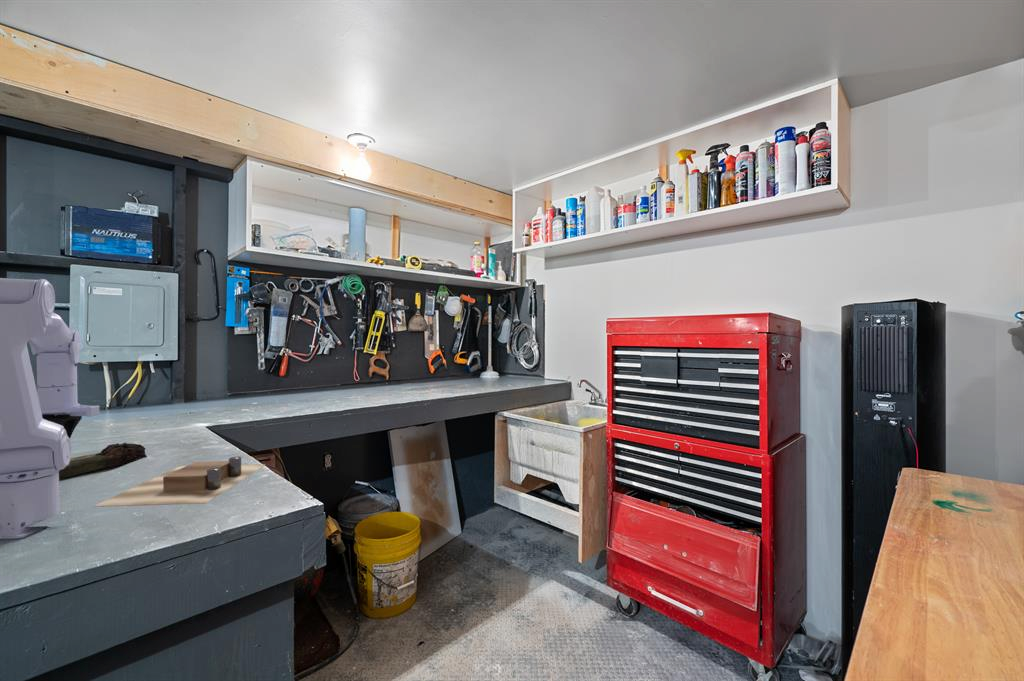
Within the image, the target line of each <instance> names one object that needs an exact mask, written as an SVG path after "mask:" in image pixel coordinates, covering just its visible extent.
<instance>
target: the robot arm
mask: <svg viewBox="0 0 1024 681" xmlns="http://www.w3.org/2000/svg"><path fill="white" fill-rule="evenodd" d="M55 306H56V294H55V289H54V286H53V285H52V283H50V282H49V281H48V280H47V279H45V278H39V279H28V278H27V279H26V278H4V277H0V540H9V539H13V540H14V539H23V538H26V537H29V536H31V535H32V534H34V533H37V532H39V531H41V530H43V529H45V528H48V527H49V526H48V525H45V526H44V525H43V526H42V525H40V526H30V525H33V524H35V523H38V522H40V521H44V520H47V519H49V518H52V517H54V516H56V515H58V514H59V513H60V511H61V509H60V479H59V471H60V470H61V469H64V468H65V467H66V466H67V465H68V464H69V462H70V458H72V442H71V437H72V434H73V432H74V431H75V429H76V427H77V426H78V424H79V423H80V421H81V420H82V418H83V417H95V416H99V415H100V405H90V404H89V405H88V404H87V405H86V404H80V403H78V402H79V401H78V398H79V397H78V363H80V352H81V347H82V337H81V333H80V332H79V330H74V328H71V327H70V328H69V326H68V325H67V324H66V322H64V319H63V318H62V317H61V316H60V315H58V314H57V313H55V312H54V310H55ZM28 343H29V344H28ZM28 345H29V346H30V350H31V353H32V356H35V357H36V380H35V377H34V372H33V368H32V367H33V366H32V363H31V359H30V358H31V357H30V355H29V354H30V353H29V348H28Z"/></svg>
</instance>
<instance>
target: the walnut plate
mask: <svg viewBox="0 0 1024 681" xmlns="http://www.w3.org/2000/svg"><path fill="white" fill-rule="evenodd" d="M185 466H186V467H184V468H181V469H179V470H177V471H175V472H173V473H171V474H169V475H167V476H164V477H163V491H200V490H206V489H207V470H208V469H211V468H221V480H223V479H225V478H226V477H228V476H229V460H228V461H226V460H225V461H194V462H192V463H190V464H188V465H185Z"/></svg>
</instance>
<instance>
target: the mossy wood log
mask: <svg viewBox="0 0 1024 681" xmlns="http://www.w3.org/2000/svg"><path fill="white" fill-rule="evenodd" d="M146 450H147V449H146V447H145V446H144V445H142V444H136V443H127V442H123V443H115V444H113V443H112V444H108V445H107V446H106V447H105V448H103V449H102V450H101V451H100V452H98V453H97V452H96V453H92V454H87V455H86V454H85V455H81V456H77V457H76V456H75V457H71V458H70V462H69V464H68V465H67V466H66V467H65V468H64V469H61V470H60V471H59V480H61V479H65V478H66V479H67V478H69V477H73V476H74V477H75V476H77V475H81V474H82V475H83V474H87V473H90V472H94V471H98V470H101V469H103V470H104V469H108V468H115V467H116V468H117V467H123V466H126V465H129V464H132V463H134V462H137V461H139V460H141V459H142V460H143V459H146V458H147V457H148V455H146Z"/></svg>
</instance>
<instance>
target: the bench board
mask: <svg viewBox="0 0 1024 681" xmlns="http://www.w3.org/2000/svg"><path fill="white" fill-rule="evenodd" d="M228 461H229V476H228V477H226V478H225V479H223V480H221V468H211V469H208V470H207V489H206V490H200V491H163V477H164V476H167V475H169V474H171V473H173V472H175V471H177V470H179V469H181V468H184V467H186V466H187V465H180V466H177V467H176V468H173V469H171V470H168V471H166V472H165V473H162V474H159V475H158V476H156V477H153V478H150V479H149V480H147V481H145V482H143V483H140V484H139V485H137V486H133V487H132V488H130V489H127V490H126V491H123V492H120V493H118V494H117V495H115V496H113V497H110V498H108V499H105V500H104V501H101V502H100V503H97V504H95V505H93V506H92V507H93V508H94V507H125V506H126V507H127V506H128V507H129V506H157V505H158V506H159V505H160V506H162V505H166V506H167V505H194V504H207V503H208V502H210V501H211V500H213V499H214V498H216V497H217V496H219V495H221V494H222V493H224V492H225V491H227V490H228V489H230V488H231V487H233V486H235V485H236V484H237V483H239V482H241V481H242V480H244V479H245V478H247V477H249V476H250V475H252V474H253V473H255V472H257V471H258V470H260V469H261V468H262V467H264V466H266V463H265V464H264V463H261V464H262V465H261V464H242V456H231V457H229V458H228Z"/></svg>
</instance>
